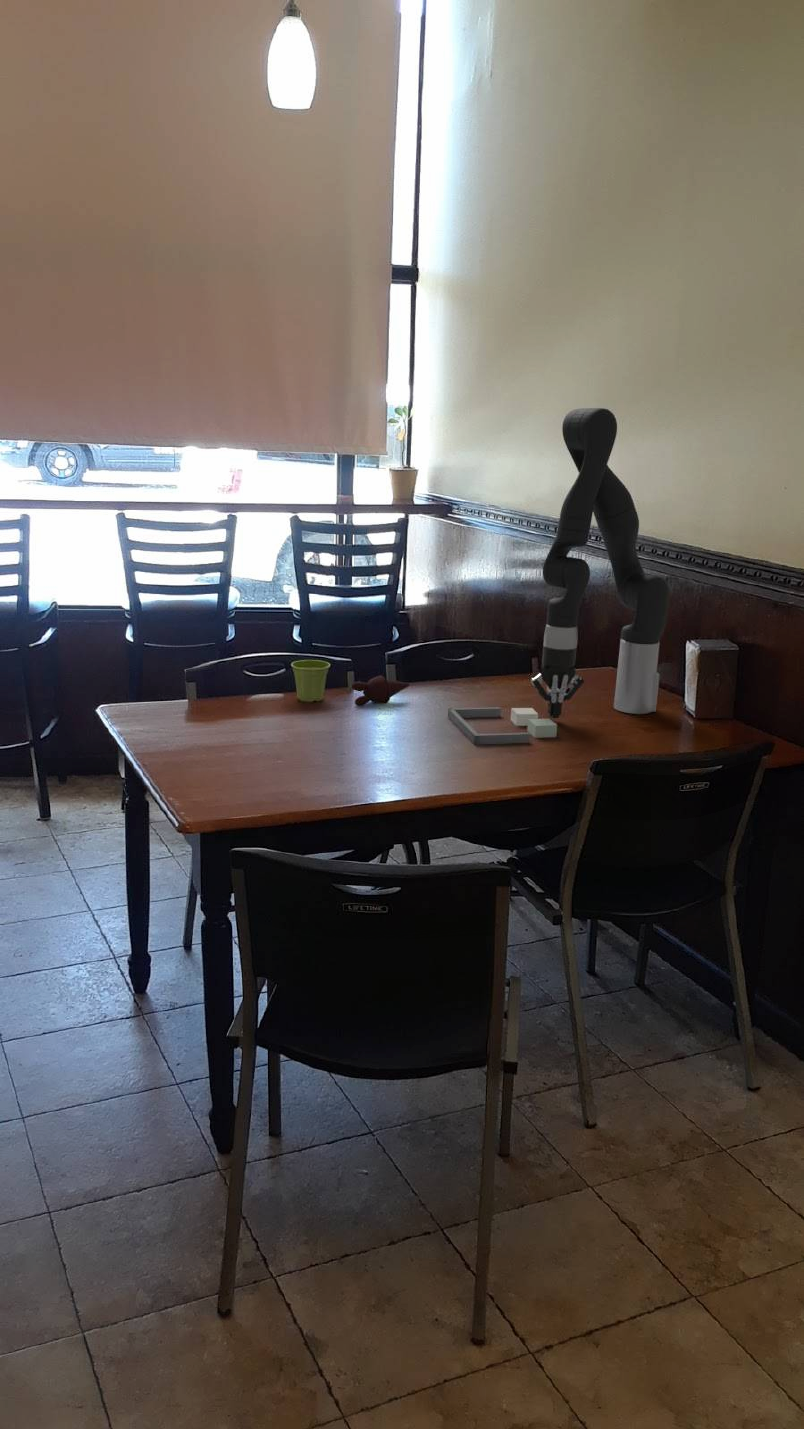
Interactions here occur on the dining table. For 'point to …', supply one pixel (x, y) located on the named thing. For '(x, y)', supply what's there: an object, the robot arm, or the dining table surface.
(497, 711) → the grey u-shaped frame
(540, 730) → the tile sage
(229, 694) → the dining table surface
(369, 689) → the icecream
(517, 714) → the tile cream
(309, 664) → the plant pot
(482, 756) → the dining table surface
